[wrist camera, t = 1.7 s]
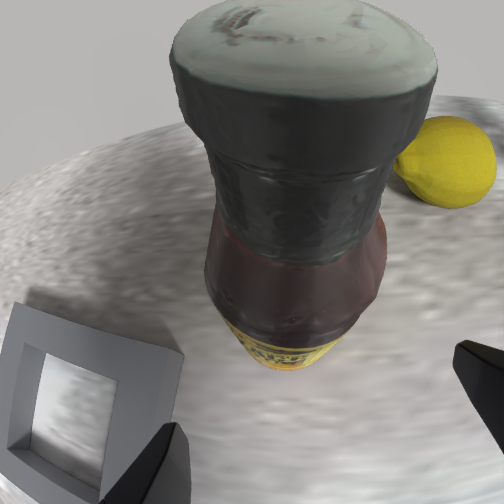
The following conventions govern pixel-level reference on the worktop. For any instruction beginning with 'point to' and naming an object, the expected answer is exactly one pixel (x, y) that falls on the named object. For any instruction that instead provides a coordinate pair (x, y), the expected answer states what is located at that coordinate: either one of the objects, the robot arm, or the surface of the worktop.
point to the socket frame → (96, 360)
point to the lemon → (448, 163)
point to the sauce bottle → (299, 159)
